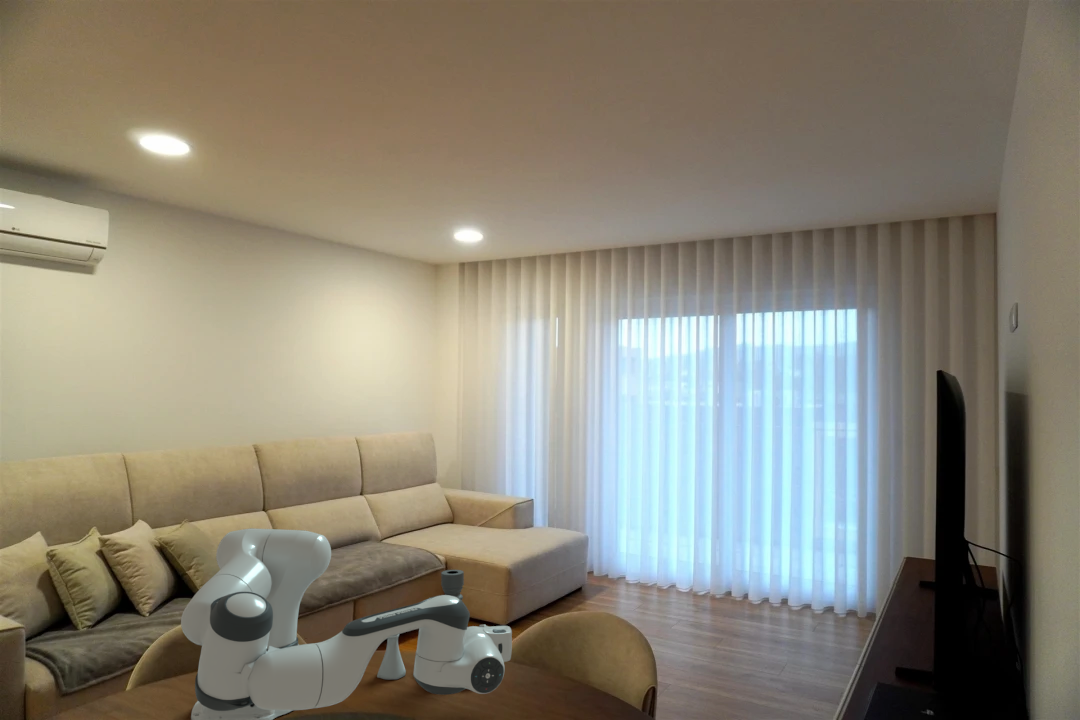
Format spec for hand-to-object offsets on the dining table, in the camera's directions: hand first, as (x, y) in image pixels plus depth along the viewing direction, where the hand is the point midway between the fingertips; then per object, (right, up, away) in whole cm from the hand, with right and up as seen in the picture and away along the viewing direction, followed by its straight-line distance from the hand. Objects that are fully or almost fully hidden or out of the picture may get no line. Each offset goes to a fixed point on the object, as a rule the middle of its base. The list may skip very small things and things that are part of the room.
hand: (462, 629), depth 167 cm
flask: (-19, -15, +9) cm, 26 cm away
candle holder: (-4, -15, +9) cm, 18 cm away
